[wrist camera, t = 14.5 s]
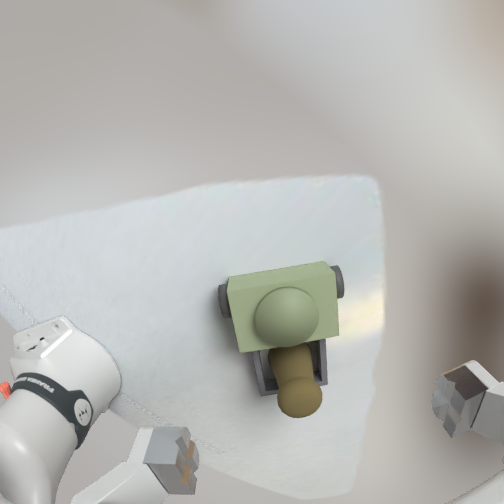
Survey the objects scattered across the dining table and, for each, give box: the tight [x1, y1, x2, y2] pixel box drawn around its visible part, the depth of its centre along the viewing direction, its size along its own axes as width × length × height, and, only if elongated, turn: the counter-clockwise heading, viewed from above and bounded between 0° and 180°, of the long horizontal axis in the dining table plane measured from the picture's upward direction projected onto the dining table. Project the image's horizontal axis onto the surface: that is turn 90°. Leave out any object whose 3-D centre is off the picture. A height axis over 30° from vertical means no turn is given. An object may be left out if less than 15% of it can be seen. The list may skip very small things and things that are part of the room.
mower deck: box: [218, 261, 344, 396], centre depth 36 cm, size 14×18×6 cm
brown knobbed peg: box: [268, 342, 322, 418], centre depth 35 cm, size 6×6×11 cm
